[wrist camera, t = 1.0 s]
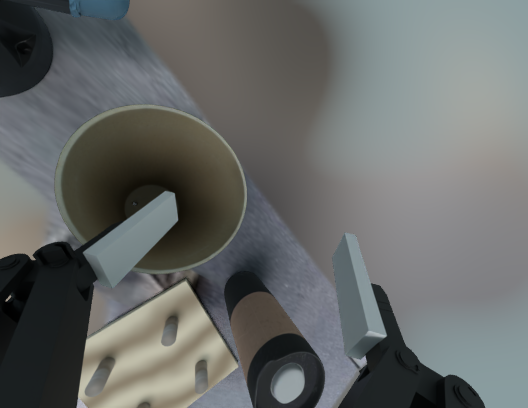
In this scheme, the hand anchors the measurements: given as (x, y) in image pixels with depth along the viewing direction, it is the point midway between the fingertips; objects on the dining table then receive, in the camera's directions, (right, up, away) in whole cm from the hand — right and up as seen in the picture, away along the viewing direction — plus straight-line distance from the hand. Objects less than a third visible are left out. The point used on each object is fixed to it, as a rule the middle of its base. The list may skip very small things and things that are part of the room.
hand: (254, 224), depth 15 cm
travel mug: (-3, -15, +22) cm, 27 cm away
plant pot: (-17, +1, +15) cm, 22 cm away
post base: (-17, -25, +17) cm, 35 cm away
